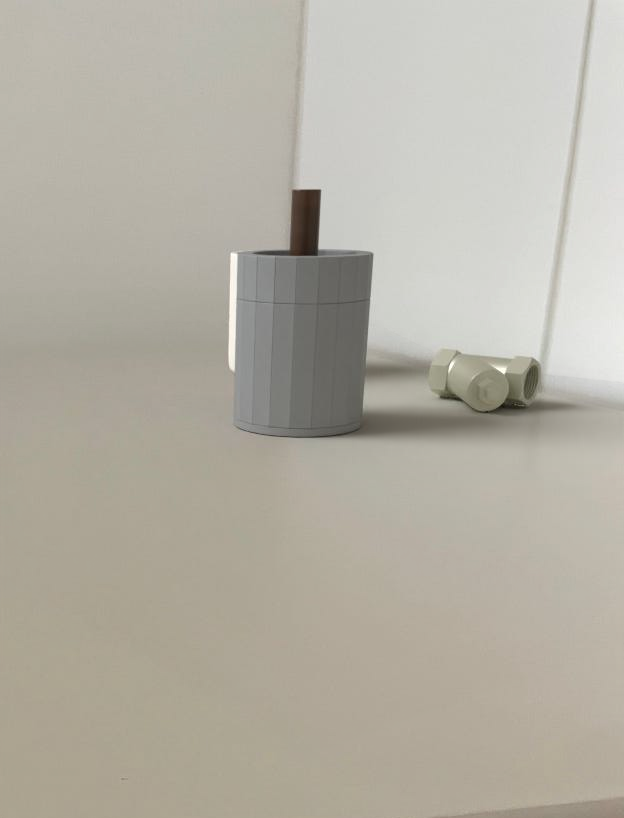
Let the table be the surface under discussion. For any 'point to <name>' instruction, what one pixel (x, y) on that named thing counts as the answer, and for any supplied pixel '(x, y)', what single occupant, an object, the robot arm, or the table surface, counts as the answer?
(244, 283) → the cup
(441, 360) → the pipe fitting
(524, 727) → the table surface
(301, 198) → the hammer
